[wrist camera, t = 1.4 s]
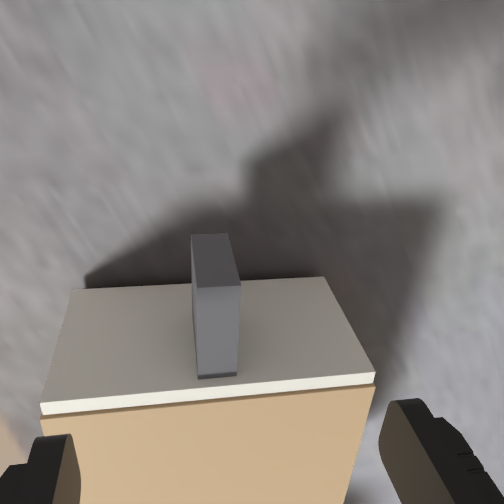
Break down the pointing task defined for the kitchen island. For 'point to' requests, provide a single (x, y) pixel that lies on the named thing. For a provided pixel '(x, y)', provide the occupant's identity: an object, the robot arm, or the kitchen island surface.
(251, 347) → the white drawer
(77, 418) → the drawer cabinet
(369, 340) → the kitchen island surface
